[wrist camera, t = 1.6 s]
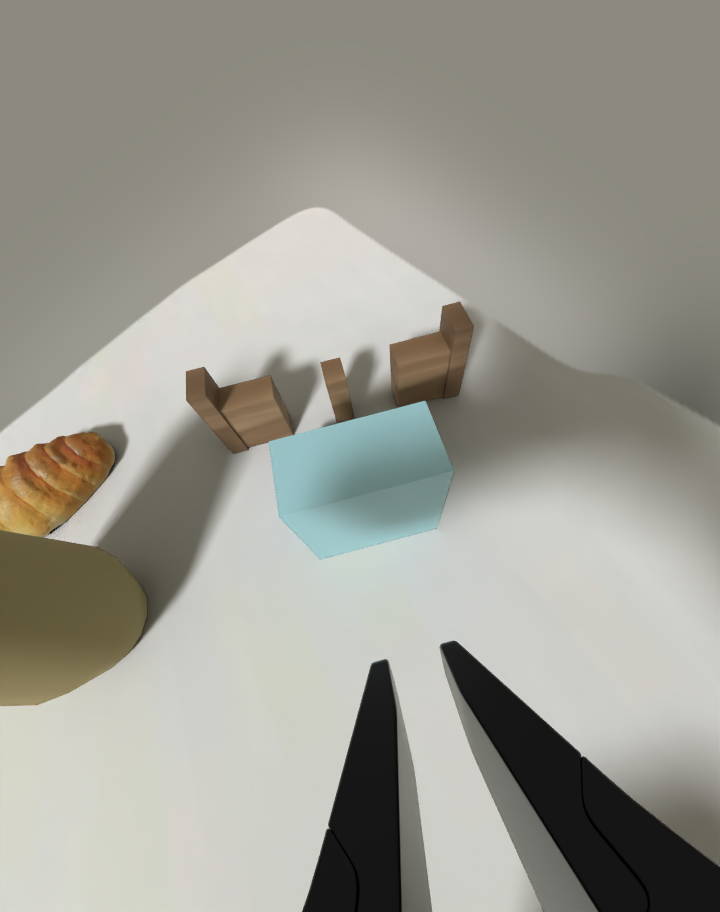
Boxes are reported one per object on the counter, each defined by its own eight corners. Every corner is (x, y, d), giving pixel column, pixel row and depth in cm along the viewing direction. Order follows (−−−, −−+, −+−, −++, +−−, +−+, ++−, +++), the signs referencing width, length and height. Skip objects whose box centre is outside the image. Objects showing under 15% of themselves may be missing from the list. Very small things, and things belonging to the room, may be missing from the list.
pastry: (98, 426, 31) (61, 400, 28) (136, 472, 29) (101, 449, 25) (-6, 504, 29) (-60, 485, 25) (26, 562, 26) (-29, 550, 23)
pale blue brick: (436, 528, 24) (454, 470, 16) (320, 559, 24) (278, 517, 16) (401, 429, 28) (402, 344, 20) (301, 456, 28) (260, 380, 20)
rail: (458, 394, 29) (474, 326, 22) (233, 453, 28) (186, 400, 22) (447, 372, 30) (459, 301, 24) (231, 428, 29) (186, 371, 23)
